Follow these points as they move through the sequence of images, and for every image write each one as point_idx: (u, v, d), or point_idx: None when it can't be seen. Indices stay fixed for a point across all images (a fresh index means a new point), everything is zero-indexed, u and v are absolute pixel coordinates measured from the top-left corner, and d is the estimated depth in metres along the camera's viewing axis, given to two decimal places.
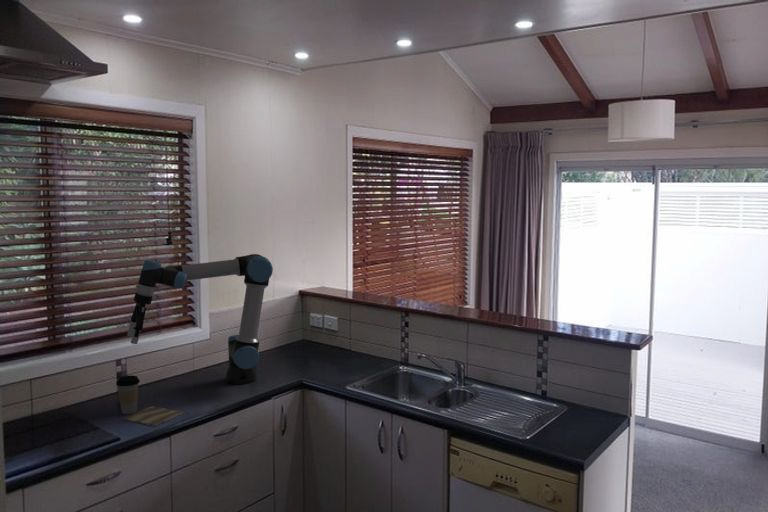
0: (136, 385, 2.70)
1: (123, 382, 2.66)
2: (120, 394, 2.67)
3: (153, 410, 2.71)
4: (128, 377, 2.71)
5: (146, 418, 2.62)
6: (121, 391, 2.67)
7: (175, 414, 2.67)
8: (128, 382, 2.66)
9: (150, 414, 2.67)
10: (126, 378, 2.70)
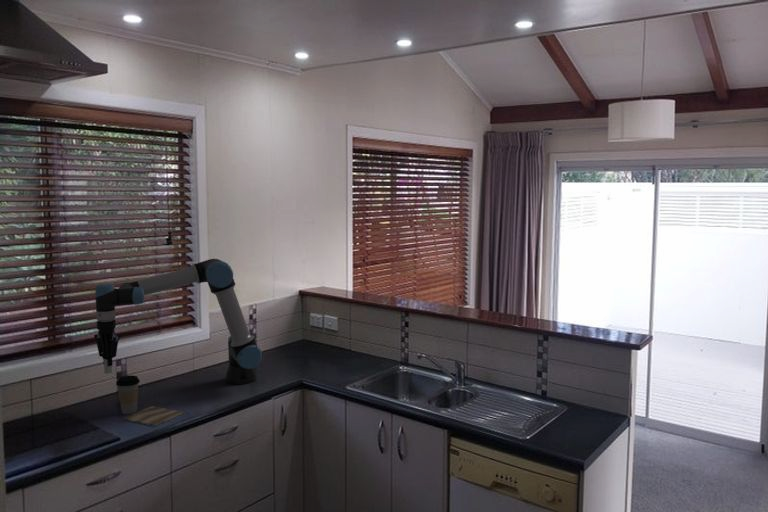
0: (136, 385, 2.70)
1: (123, 382, 2.66)
2: (120, 394, 2.67)
3: (153, 410, 2.71)
4: (128, 377, 2.71)
5: (146, 418, 2.62)
6: (121, 391, 2.67)
7: (175, 414, 2.67)
8: (128, 382, 2.66)
9: (150, 414, 2.67)
10: (126, 378, 2.70)
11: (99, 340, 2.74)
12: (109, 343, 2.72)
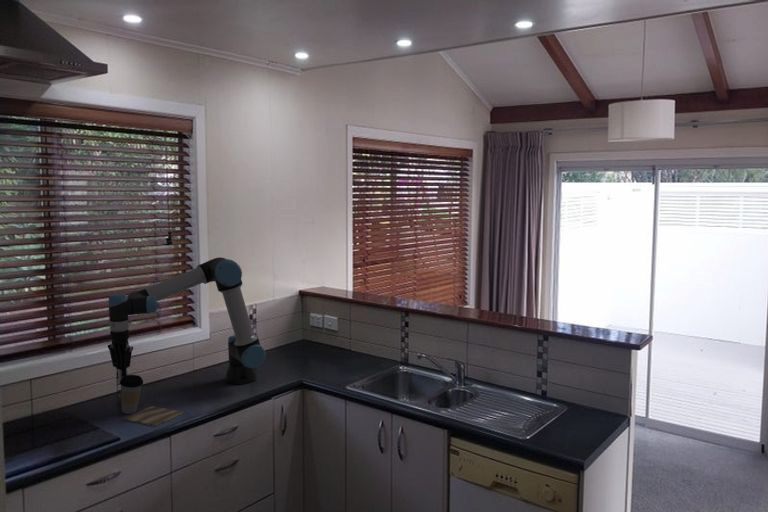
0: (139, 386, 2.69)
1: (127, 383, 2.65)
2: (122, 394, 2.67)
3: (153, 410, 2.71)
4: (132, 377, 2.70)
5: (146, 418, 2.62)
6: (124, 391, 2.66)
7: (175, 414, 2.67)
8: (132, 383, 2.65)
9: (150, 414, 2.67)
10: (130, 378, 2.69)
11: (113, 350, 2.71)
12: (123, 353, 2.69)
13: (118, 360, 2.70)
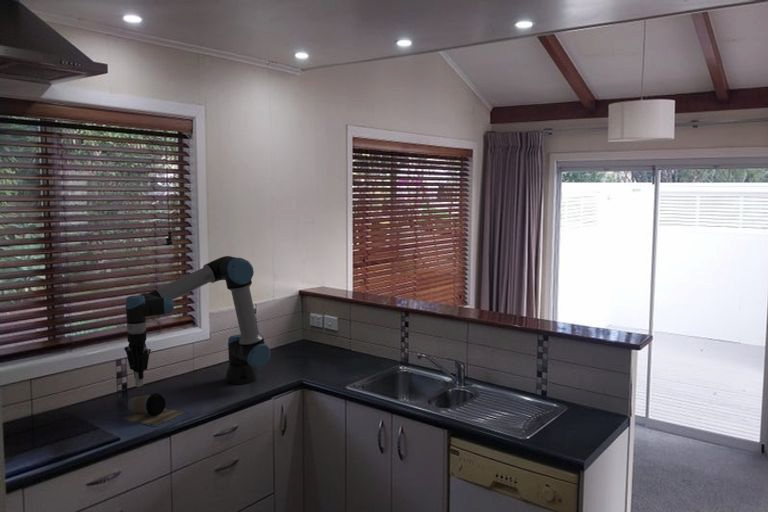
0: None
1: (150, 410, 2.60)
2: (140, 406, 2.63)
3: None
4: (160, 401, 2.64)
5: (146, 418, 2.62)
6: (142, 408, 2.62)
7: (175, 414, 2.67)
8: (153, 413, 2.61)
9: None
10: (157, 403, 2.63)
11: (129, 353, 2.67)
12: (140, 356, 2.65)
13: (135, 363, 2.66)
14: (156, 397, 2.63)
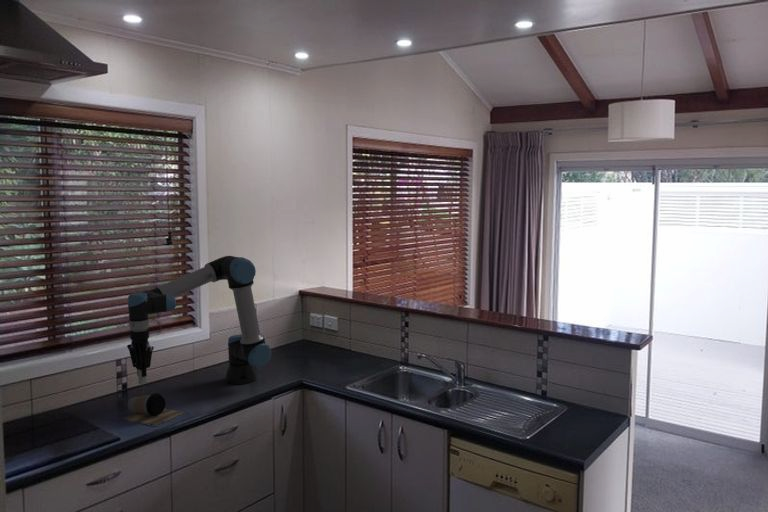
0: None
1: (150, 410, 2.60)
2: (140, 406, 2.63)
3: None
4: (160, 401, 2.64)
5: (146, 418, 2.62)
6: (142, 408, 2.62)
7: (175, 414, 2.67)
8: (153, 413, 2.61)
9: None
10: (157, 403, 2.63)
11: (132, 350, 2.67)
12: (143, 353, 2.64)
13: (138, 360, 2.65)
14: (156, 397, 2.63)
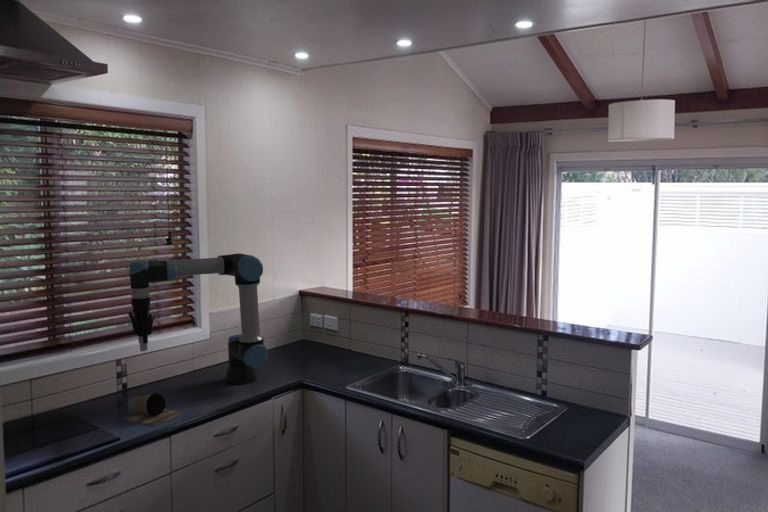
0: None
1: (151, 410, 2.60)
2: (140, 406, 2.63)
3: None
4: (160, 401, 2.64)
5: (146, 418, 2.62)
6: (142, 408, 2.62)
7: (175, 414, 2.67)
8: (153, 413, 2.61)
9: None
10: (157, 403, 2.63)
11: (134, 318, 2.71)
12: (144, 320, 2.69)
13: (139, 327, 2.70)
14: (156, 397, 2.63)
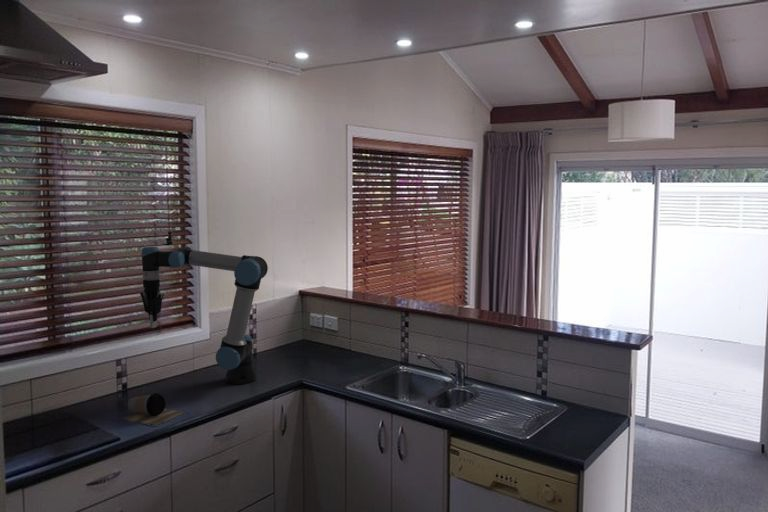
0: None
1: (151, 410, 2.60)
2: (140, 405, 2.63)
3: None
4: (160, 401, 2.65)
5: (146, 418, 2.62)
6: (143, 407, 2.62)
7: (175, 414, 2.67)
8: (153, 413, 2.61)
9: None
10: (157, 403, 2.63)
11: (145, 298, 3.02)
12: (154, 300, 3.00)
13: (150, 306, 3.01)
14: (156, 397, 2.63)
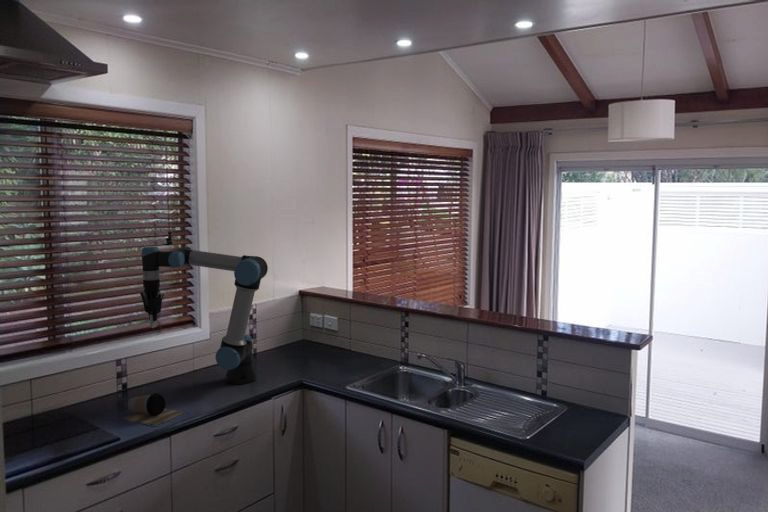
0: None
1: (151, 410, 2.60)
2: (140, 405, 2.63)
3: None
4: (160, 401, 2.65)
5: (146, 418, 2.62)
6: (143, 407, 2.62)
7: (175, 414, 2.67)
8: (153, 413, 2.61)
9: None
10: (157, 403, 2.63)
11: (145, 298, 3.02)
12: (154, 300, 3.00)
13: (150, 306, 3.01)
14: (156, 397, 2.63)
